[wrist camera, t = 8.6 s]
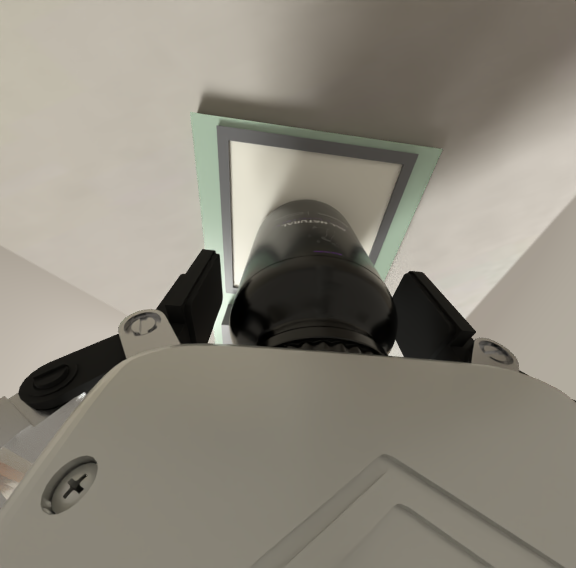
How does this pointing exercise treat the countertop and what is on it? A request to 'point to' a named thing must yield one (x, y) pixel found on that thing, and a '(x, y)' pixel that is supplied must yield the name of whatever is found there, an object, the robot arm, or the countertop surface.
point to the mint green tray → (300, 188)
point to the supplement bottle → (312, 287)
